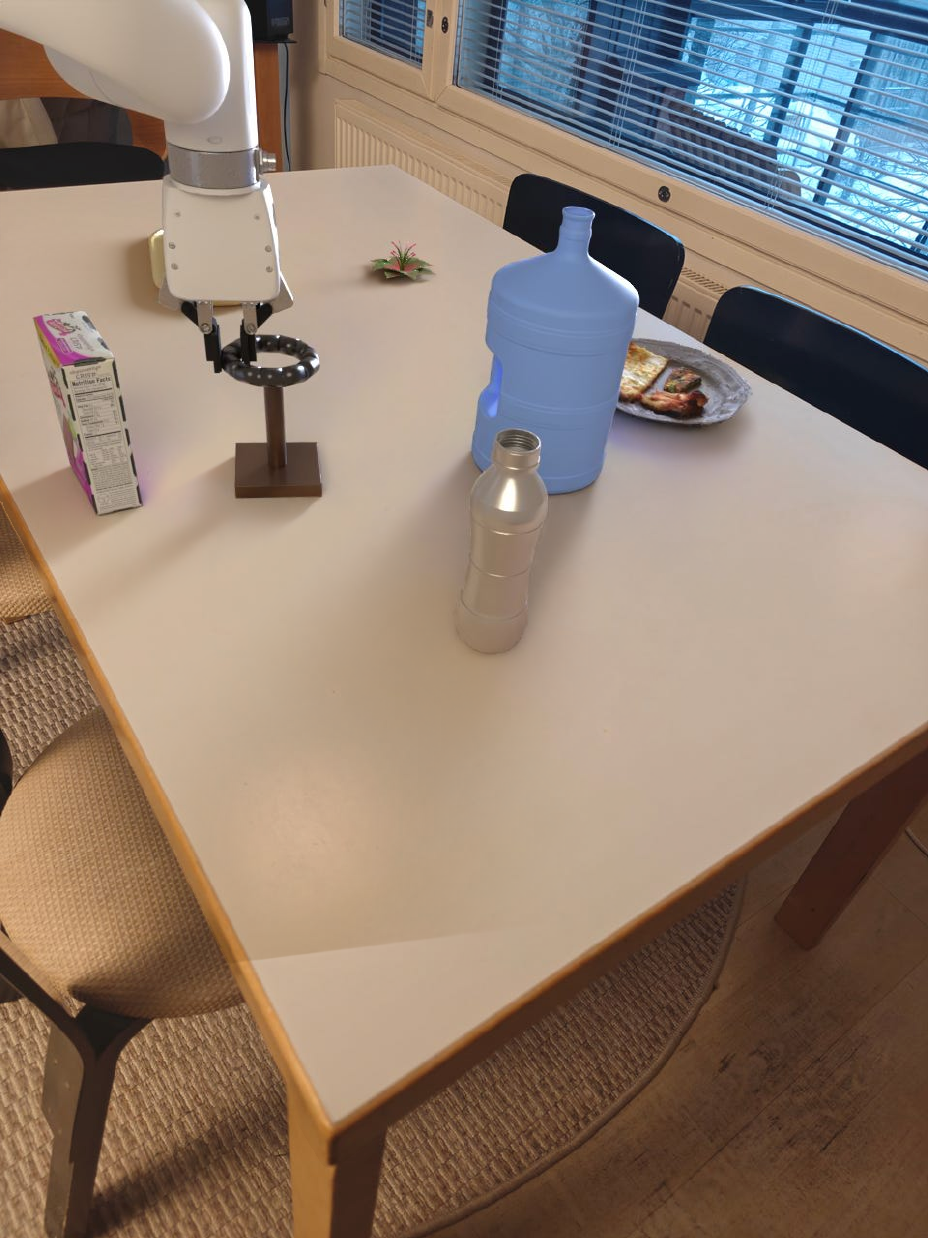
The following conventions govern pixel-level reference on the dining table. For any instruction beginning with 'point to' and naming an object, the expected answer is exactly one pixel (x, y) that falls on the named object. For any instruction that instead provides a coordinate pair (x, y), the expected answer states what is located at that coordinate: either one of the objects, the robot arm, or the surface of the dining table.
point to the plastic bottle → (502, 543)
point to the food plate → (678, 385)
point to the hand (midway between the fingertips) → (232, 365)
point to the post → (276, 459)
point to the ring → (271, 375)
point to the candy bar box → (89, 410)
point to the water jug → (557, 356)
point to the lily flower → (402, 265)
